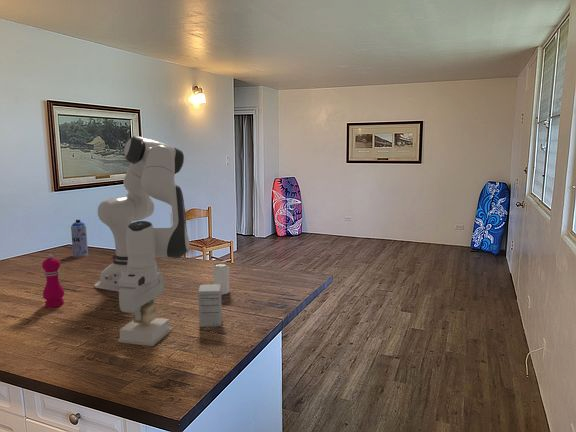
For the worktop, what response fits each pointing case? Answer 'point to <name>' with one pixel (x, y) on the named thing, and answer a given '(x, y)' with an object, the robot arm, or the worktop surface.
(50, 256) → the pepper mill
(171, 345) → the worktop surface
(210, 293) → the supplement box
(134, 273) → the robot arm
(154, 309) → the maple block
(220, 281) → the can
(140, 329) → the pedestal
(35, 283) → the worktop surface
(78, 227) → the aerosol can
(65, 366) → the worktop surface
